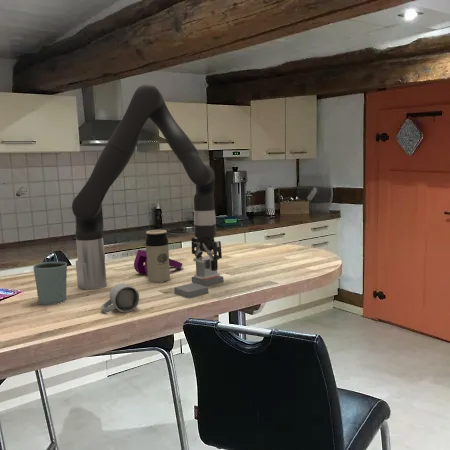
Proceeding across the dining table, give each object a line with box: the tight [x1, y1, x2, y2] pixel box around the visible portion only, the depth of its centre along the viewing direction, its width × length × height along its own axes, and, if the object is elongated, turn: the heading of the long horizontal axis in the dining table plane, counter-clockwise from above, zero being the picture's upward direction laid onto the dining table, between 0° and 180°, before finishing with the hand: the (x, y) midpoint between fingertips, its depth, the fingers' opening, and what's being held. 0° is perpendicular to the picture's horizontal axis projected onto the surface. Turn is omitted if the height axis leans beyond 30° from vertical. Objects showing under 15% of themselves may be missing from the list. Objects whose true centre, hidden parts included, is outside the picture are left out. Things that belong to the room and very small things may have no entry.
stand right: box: [191, 275, 224, 287], centre depth 177 cm, size 8×8×2 cm
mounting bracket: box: [133, 249, 183, 276], centre depth 195 cm, size 9×8×18 cm
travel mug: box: [145, 229, 171, 283], centre depth 182 cm, size 8×8×18 cm
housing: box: [192, 255, 221, 280], centre depth 176 cm, size 8×5×7 cm, turn 129°
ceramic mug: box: [100, 283, 140, 314], centre depth 149 cm, size 11×8×8 cm
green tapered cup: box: [32, 261, 68, 306], centre depth 161 cm, size 10×10×12 cm
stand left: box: [173, 282, 210, 299], centre depth 164 cm, size 8×8×2 cm
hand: (206, 268), depth 176 cm, fingers open, 8 cm apart
